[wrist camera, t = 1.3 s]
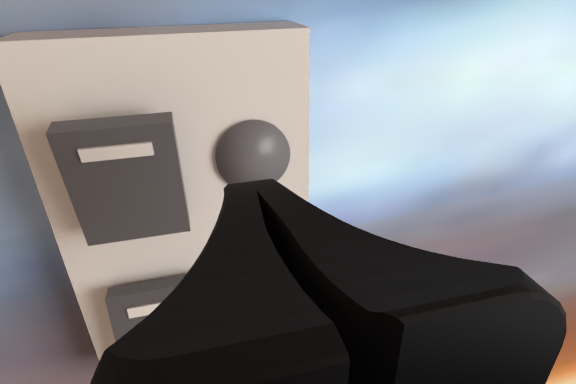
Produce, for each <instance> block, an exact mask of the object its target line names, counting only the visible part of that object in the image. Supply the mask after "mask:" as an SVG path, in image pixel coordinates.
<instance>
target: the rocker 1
mask: <svg viewBox="0 0 576 384" xmlns="http://www.w3.org/2000/svg"><path fill="white" fill-rule="evenodd" d="M46 137H47V140H48V142H49V145H50V147H51V150H52V153H53V155H54V158H55V161H56V163H57V166H58V168H59V171H60V174H61V176H62V179H63V181H64V184H65V187H66V189H67V192H68V195H69V197H70V200H71V202H72V205H73V208H74V210H75V213H76V215H77V218H78V221H79V223H80V226H81V229H82V231H83V234H84V236H85V239H86V242H87V244H88V246H93V245H99V244H106V243H113V242H120V241H126V240H133V239H140V238H147V237H154V236H160V235H167V234H174V233H181V232H188V231H191V230H190V218H189V212H188V206H187V200H186V193H185V187H184V181H183V175H182V169H181V163H180V157H179V151H178V145H177V139H176V133H175V127H174V121H173V115H172V112H162V113H150V114H138V115H126V116H115V117H103V118H91V119H79V120H67V121H56V122H51V124H50V126H49V128H48V130H47V132H46Z"/></svg>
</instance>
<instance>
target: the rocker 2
mask: <svg viewBox="0 0 576 384" xmlns="http://www.w3.org/2000/svg"><path fill="white" fill-rule="evenodd" d="M185 275H186V274H185ZM185 275H179V276H174V277H168V278H162V279H156V280H150V281H144V282H138V283H132V284H126V285H120V286H114V287H108V290H107V293H106V297H105V302H106V306H107V310H108V314H109V318H110V322H111V326H112V330H113V334H114V338H115V342H116V341H117V340H118V339H120V338H121V337H122V336H123V335H125V334H126V333H127V332H128V331H130V330H131V329H132V328H133V327H135V326H136V325H137V324H138V323H140V322H141V321H142V320H143V319H144V318H146V317H147V316H148V315H149V314H150V313H151V312H152V311H153V310H154V309H155V308H156V307H157V306H158V305H159V304H160V303H161V302H162V301H163V300H164V299H165V298H166V297H167V296H168V295H169V294H170V293H171V292H172V291H173V290H174V289H175V287H176V286H177V285H178V284H179V283H180V281H181V280H182V279H183V278H184V276H185Z"/></svg>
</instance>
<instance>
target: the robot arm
mask: <svg viewBox="0 0 576 384" xmlns="http://www.w3.org/2000/svg"><path fill="white" fill-rule="evenodd" d="M565 335H566V313H565V311H564V309H563V307H562V305H561V304H560V302H559V301H558V300H556V299H555V298H554V297H553V296H552V295H550V294H549V293H548V292H547V291H546V290H545V289H543V288H542V287H541V286H540V285H539V284H537V283H536V282H535V281H534V280H533V279H531V278H530V277H529V276H528V275H527V274H526V273H524V272H523V271H522V270H521V269H520V268H518V267H515V266H508V265H501V264H494V263H488V262H481V261H474V260H468V259H462V258H456V257H452V256H447V255H443V254H438V253H434V252H429V251H425V250H421V249H418V248H414V247H410V246H407V245H404V244H400V243H397V242H394V241H391V240H388V239H385V238H382V237H379V236H376V235H374V234H371V233H369V232H366V231H364V230H361V229H359V228H357V227H354V226H352V225H350V224H348V223H345V222H343V221H341V220H339V219H337V218H336V217H334V216H332V215H330V214H328V213H326V212H324V211H322V210H321V209H319V208H317V207H316V206H314V205H312V204H311V203H309V202H307V201H306V200H304V199H303V198H301V197H300V196H298V195H297V194H295V193H294V192H292V191H291V190H289V189H288V188H286V187H285V186H283V185H282V184H280V183H279V182H277V181H276V180H274V179H265V180H257V181H249V182H241V183H233V184H227V185H226V186H225V187H224V199H223V203H222V207H221V210H220V213H219V216H218V219H217V222H216V224H215V226H214V228H213V231H212V233H211V235H210V237H209V239H208V241H207V243H206V245H205V247H204V248H203V250H202V252H201V253H200V255H199V257H198V258H197V260H196V261H195V263H194V264H193V266H192V267H191V268H190V270H189V271H188V272H187V274H186V275H185V276H184V278H183V279H182V280H181V281H180V283H179V284H178V285H177V286H176V287H175V289H174V290H173V291H172V292H171V293H170V294H169V295H168V296H167V297H166V298H165V299H164V300H163V301H162V302H161V303H160V304H159V305H158V306H157V307H156V308H155V309H154V310H153V311H152V312H151V313H150V314H149V315H148V316H147V317H146V318H144V319H143V320H142V321H141V322H140V323H138V324H137V325H136V326H135V327H133V328H132V329H131V330H130V331H128V332H127V333H126V334H125V335H123V336H122V337H121V338H120V339H118V340H117V341H116V342H115V343H113V344H112V345H111V346H109V347H108V348H106V349H105V351H104V352H103V354H102V356H101V359H100V361H99V363H98V366H97V368H96V371H95V373H94V375H93V378H92V380H91V383H90V384H545V383H546V381H547V379H548V377H549V374H550V372H551V370H552V368H553V365H554V363H555V361H556V359H557V356H558V354H559V352H560V350H561V348H562V345H563V341H564V338H565Z"/></svg>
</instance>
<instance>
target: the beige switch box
mask: <svg viewBox="0 0 576 384" xmlns="http://www.w3.org/2000/svg"><path fill="white" fill-rule="evenodd" d="M309 80H310V27H307V26H304V25H301V24H298V23H295V22H292V21H275V22H250V23H226V24H202V25H177V26H153V27H129V28H104V29H80V30H56V31H31V32H16V33H13V34H10V35H6V36H3V37H0V84H1V87H2V90H3V93H4V96H5V98H6V101H7V104H8V107H9V110H10V112H11V115H12V118H13V121H14V124H15V126H16V129H17V132H18V135H19V138H20V140H21V143H22V146H23V149H24V152H25V155H26V157H27V160H28V163H29V166H30V169H31V171H32V174H33V177H34V180H35V183H36V185H37V188H38V191H39V194H40V197H41V199H42V202H43V205H44V208H45V211H46V213H47V216H48V219H49V222H50V225H51V227H52V230H53V233H54V236H55V239H56V241H57V244H58V247H59V250H60V253H61V255H62V258H63V261H64V264H65V267H66V270H67V272H68V275H69V278H70V281H71V284H72V286H73V289H74V292H75V295H76V298H77V300H78V303H79V306H80V309H81V312H82V314H83V317H84V320H85V323H86V326H87V328H88V331H89V334H90V337H91V340H92V342H93V345H94V348H95V351H96V354H97V356H98V359H99V361H100V359H101V356H102V354H103V352H104V351H105V349H106V348H108V347H109V346H111V345H112V344H113V343H115V338H114V334H113V330H112V326H111V322H110V318H109V314H108V310H107V306H106V302H105V297H106V293H107V290H108V287H114V286H120V285H126V284H132V283H138V282H144V281H150V280H156V279H162V278H168V277H174V276H179V275H185V274H187V272H188V271H189V270H190V268H191V267H192V266H193V264H194V263H195V261H196V260H197V258H198V257H199V255H200V253H201V252H202V250H203V248H204V247H205V245H206V243H207V241H208V239H209V237H210V235H211V233H212V231H213V228H214V226H215V224H216V222H217V219H218V216H219V213H220V210H221V207H222V203H223V199H224V187H225V186H226V185H227V184H233V183H241V182H249V181H257V180H265V179H274V180H276V181H277V182H279V183H280V184H282V185H283V186H285V187H286V188H288V189H289V190H291V191H292V192H294V193H295V194H297V195H298V196H300V197H301V198H303V199H304V200H306V201H307V202H308V186H309ZM162 112H172V115H173V121H174V127H175V133H176V139H177V145H178V151H179V157H180V163H181V169H182V175H183V181H184V187H185V193H186V200H187V206H188V212H189V218H190V230H191V231H188V232H181V233H174V234H167V235H160V236H154V237H147V238H140V239H133V240H126V241H120V242H113V243H106V244H99V245H93V246H88V244H87V242H86V239H85V236H84V234H83V231H82V229H81V226H80V223H79V221H78V218H77V215H76V213H75V210H74V208H73V205H72V202H71V200H70V197H69V195H68V192H67V189H66V187H65V184H64V181H63V179H62V176H61V174H60V171H59V168H58V166H57V163H56V161H55V158H54V155H53V153H52V150H51V147H50V145H49V142H48V140H47V137H46V132H47V130H48V128H49V126H50V124H51V122H56V121H67V120H79V119H91V118H103V117H115V116H126V115H138V114H150V113H162Z"/></svg>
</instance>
